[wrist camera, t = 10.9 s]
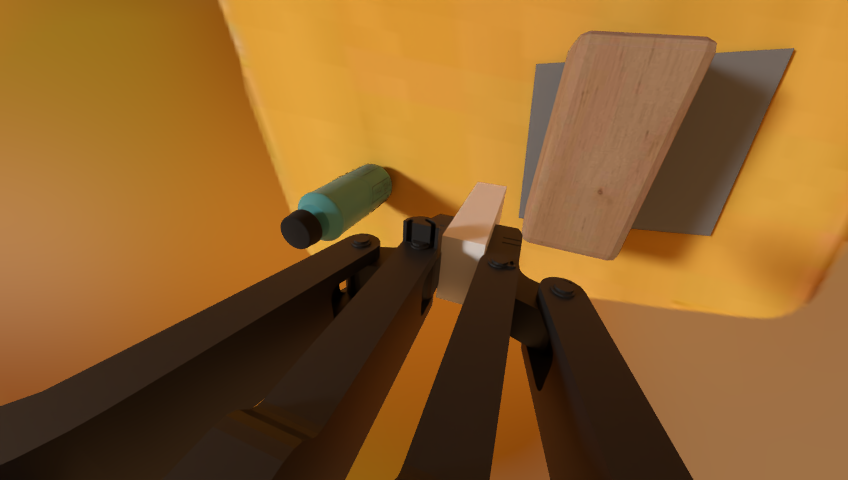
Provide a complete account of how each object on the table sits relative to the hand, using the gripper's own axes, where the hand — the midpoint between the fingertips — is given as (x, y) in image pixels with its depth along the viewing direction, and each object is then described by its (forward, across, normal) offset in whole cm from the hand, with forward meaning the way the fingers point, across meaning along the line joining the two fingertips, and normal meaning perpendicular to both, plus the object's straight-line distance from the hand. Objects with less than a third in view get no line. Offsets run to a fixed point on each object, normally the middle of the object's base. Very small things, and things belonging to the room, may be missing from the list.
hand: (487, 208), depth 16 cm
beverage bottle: (+27, -20, -9) cm, 35 cm away
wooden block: (+21, +8, +10) cm, 25 cm away
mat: (+27, +12, 0) cm, 29 cm away
